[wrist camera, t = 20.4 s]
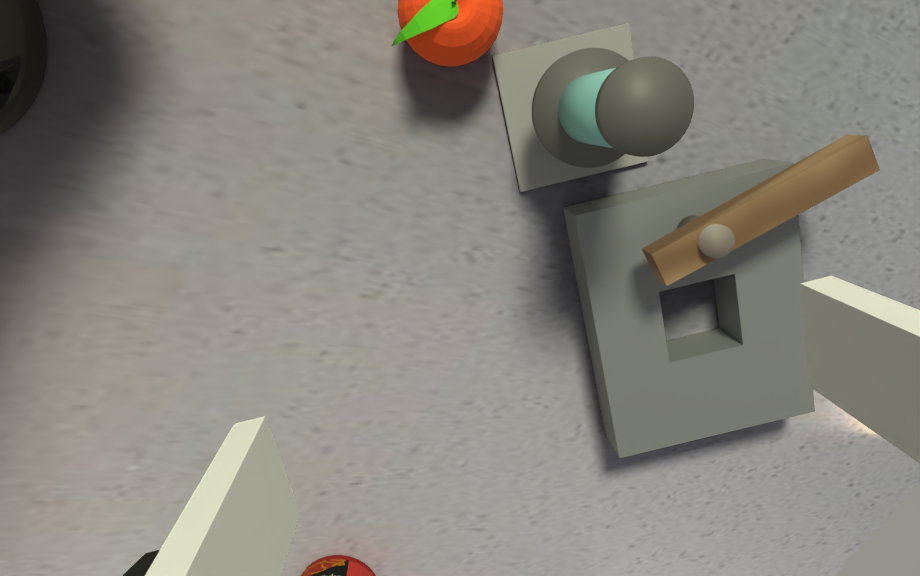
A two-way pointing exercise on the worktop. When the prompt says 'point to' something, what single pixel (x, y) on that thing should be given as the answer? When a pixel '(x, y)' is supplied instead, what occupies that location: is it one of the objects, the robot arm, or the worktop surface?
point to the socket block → (699, 355)
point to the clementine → (449, 28)
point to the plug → (610, 107)
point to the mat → (517, 90)
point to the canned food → (338, 567)
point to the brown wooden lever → (760, 208)
